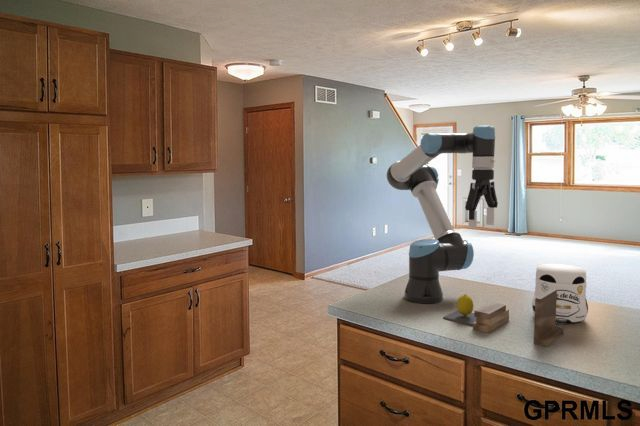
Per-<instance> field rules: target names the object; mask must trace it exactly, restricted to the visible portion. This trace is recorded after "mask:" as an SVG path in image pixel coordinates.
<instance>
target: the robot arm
mask: <svg viewBox="0 0 640 426" xmlns="http://www.w3.org/2000/svg"><path fill="white" fill-rule="evenodd" d="M472 129H473V130H472V132H459V133H458V132H451V133H450V132H427V133H425V134H423V135H422V137H421V139H420V144H419V145H418V146H417V147H416V148H414V150H412V151H410V152H409V153H408V154H406V155H405V157H403V158H402V159H400V160H398V161H395V162H393V163H392V164H391V165H390V166H389V167H388V168H387V171H386V179H387V183H388V184H389V185H390V186H391V187H392V188H394V189H396V190H398V191H411V195H412V196H413V197H414V198H417V200H418V202H419V204H420V207H421V209H422V211H423V214H424V216H425V218H426V220H427V222H428V225H429V228H430V230H431V233H432V234H433V238H424V239H418V240H415V241H413V242H411V244H410V245H409V249H408V258H409V259H408V281H407V284H406V286H405V289H404V299H405V300H407V301H410V302H412V301H413V302H412V303H418V304H437V303H439V302H442V301H443V300H444V293H443V290H442V287H441V283H440V280H439V275H440V273H439V272H449V271H460V270H466V269H469V267H471V265H472V263H473V261H474V253H475V251H474V246H473V245H472V242H471V241H468V240H466V239H465V240H463V238H462V235H461V234H460V233H459V232H458V231H457V232H456V231H455V229H454V227H453V225H452V223H451V220H450V218H449V216H448V214H447V212H446V210H445V208H444V206H443V203H442V201H441V199H440V197H439V196H440V195H439V194H438V192H437V189H438V185H439V174H438V173H439V172H438V170H437V169H436V168H435V167H434V166H433V165H431V164H428V163H430V162H431V161H432V160H434V159H436V158H437V157H438V156H440V155H441V154H464V155H465V154H472V158H471V159H472V161H471V163H472V164H471V165H472V168H473V169H472V171H471V179H472V180H475V182H470V186H469V191H468V195H467V198H466V199H467V200H466V203H465V210H466V211H468V229H470V230H477V228H478V227H477V225H478V224H477V219H478V210H477V207H478V205H479V202H480V200H481V198H482V196H483V198H484V200H485V202H486V205H487V207H486V218H485V219H486V220H485V222H486V223H485V224H486V226H494V225H495V209H496V208H498V204H499V203H498V197H497V194H496V188H495V181H492V180H494V177H495V176H494V175H495V171H494V169H493V168H495V162H496V159H495V150H496V149H495V148H496V147H495V146H496V145H495V143H496V132H495V131H496V130H495V129H496V128H495V127H494V126H493V125H476V126H474V127H473V128H472Z"/></svg>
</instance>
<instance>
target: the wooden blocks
mask: <svg viewBox="0 0 640 426" xmlns="http://www.w3.org/2000/svg"><path fill="white" fill-rule="evenodd" d="M556 301H557V290H556V289H551V290H549V291H547V292H546V293H544V294H542V295H540V296H538V297H537V298H535V314H534V317H533V318H534V323H533V344H535V345H538V346H539V345H540V346H543V347H547V348H548V347H549V346H551V344H553V343H554V342H555V341H557V340H558V339H559V338H560V337H562V336H563V335H564V328H565V327H560V326H556V324H557V323H556ZM473 313H474V317H476V322H474V323H473V326H472V329H473V330H475V331H480V332H484V333H490V332H492V331H494V330H495V329H496V328H498V327H500V326H502V325H504V324H506V323H507V322H509V321H510V309H509V308H507V305H506V304H504V303H498V302H494V301H492V302H489V303H487V304H485V305H483V306H480V307H479V308H476V309H475V310H474V311H473Z"/></svg>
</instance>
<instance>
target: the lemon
mask: <svg viewBox="0 0 640 426" xmlns="http://www.w3.org/2000/svg"><path fill="white" fill-rule="evenodd" d="M456 309H457V310H458V311H459V313H461V314H462V315H463V316H467V315H469V314H470V313H473V312H474V311H473V310H474V300H473V299H472V297H471V296H469V295H468V294H466V293H465V294H463V295H461V296H459V297H458V298H457V302H456Z"/></svg>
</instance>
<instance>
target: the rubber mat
mask: <svg viewBox="0 0 640 426" xmlns="http://www.w3.org/2000/svg"><path fill="white" fill-rule="evenodd" d="M442 318H443V319H444V320H448V321H450V322H454V323H455V322H456V323H460V324H463V325H467V326H471V327H473V323H474V322H476V317H474V312H471V313H470V314H469V315H467V316H463V315H462V314H461V313H459V311H458V309H457V310H455V311H453V312H451V313H449V314H447V315H444V316H443V317H442Z"/></svg>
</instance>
